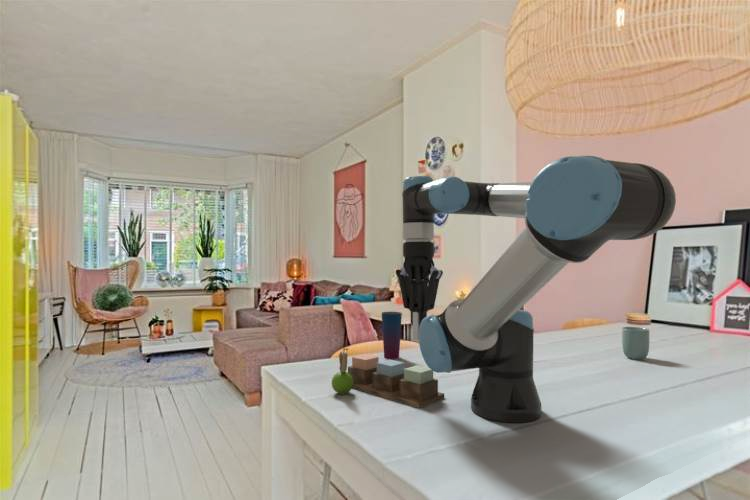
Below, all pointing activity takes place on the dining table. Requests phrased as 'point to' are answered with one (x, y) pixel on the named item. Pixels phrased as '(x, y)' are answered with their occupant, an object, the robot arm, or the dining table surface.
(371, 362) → the terracotta key
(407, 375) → the sage key
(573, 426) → the dining table surface
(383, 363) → the slate key
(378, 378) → the wooden socket tray
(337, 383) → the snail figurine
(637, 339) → the cup
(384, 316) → the cup
